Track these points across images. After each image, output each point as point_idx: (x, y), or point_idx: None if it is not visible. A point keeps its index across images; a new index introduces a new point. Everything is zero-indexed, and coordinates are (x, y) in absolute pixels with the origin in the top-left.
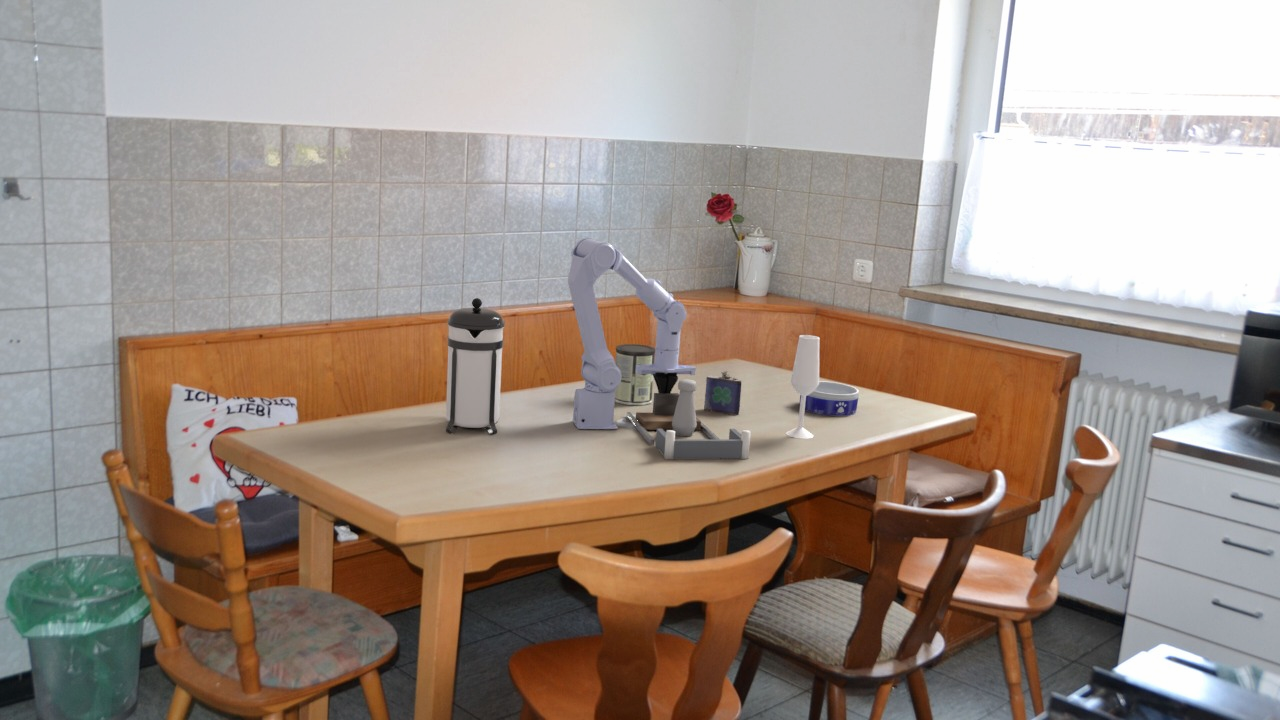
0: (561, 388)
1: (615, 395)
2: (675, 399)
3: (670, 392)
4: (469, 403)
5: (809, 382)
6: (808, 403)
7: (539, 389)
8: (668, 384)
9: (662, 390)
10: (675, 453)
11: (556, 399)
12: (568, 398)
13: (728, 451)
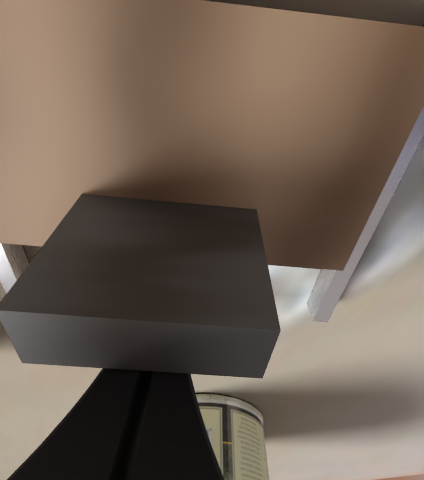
0: (339, 476)
1: (264, 440)
2: (69, 278)
3: (97, 377)
4: None
5: None
6: None
7: (396, 475)
8: (101, 475)
9: (178, 400)
10: None
11: (420, 436)
12: (379, 439)
13: None
